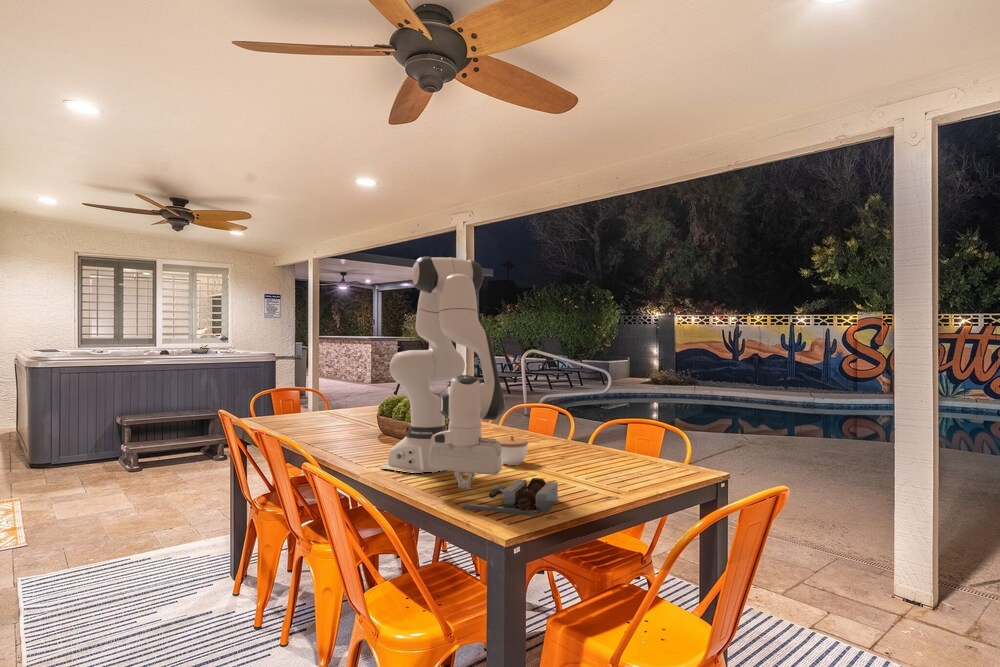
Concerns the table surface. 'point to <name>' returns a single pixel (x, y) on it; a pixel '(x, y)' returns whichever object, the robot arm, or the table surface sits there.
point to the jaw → (510, 493)
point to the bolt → (530, 493)
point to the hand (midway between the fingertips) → (464, 487)
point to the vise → (543, 502)
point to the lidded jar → (513, 450)
